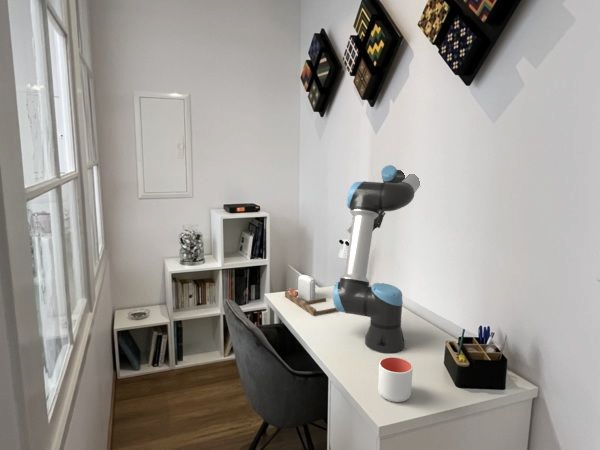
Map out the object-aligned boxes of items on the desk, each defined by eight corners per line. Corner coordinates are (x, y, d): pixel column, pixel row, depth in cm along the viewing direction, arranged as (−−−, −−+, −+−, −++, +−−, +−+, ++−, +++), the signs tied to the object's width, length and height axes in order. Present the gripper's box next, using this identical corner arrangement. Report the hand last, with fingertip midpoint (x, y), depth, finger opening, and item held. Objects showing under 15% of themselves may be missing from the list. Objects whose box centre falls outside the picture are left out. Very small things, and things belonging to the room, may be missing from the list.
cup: (395, 407, 126) (397, 376, 125) (371, 392, 134) (372, 362, 133) (417, 397, 132) (419, 366, 130) (392, 382, 140) (394, 354, 138)
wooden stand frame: (341, 310, 202) (341, 298, 201) (313, 316, 195) (313, 303, 194) (310, 292, 228) (310, 281, 227) (285, 296, 221) (285, 285, 220)
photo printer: (296, 297, 220) (297, 274, 218) (303, 295, 223) (303, 272, 221) (309, 302, 213) (310, 278, 210) (316, 301, 215) (316, 277, 213)
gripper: (402, 210, 208) (376, 243, 204) (370, 204, 230) (346, 234, 225) (394, 200, 205) (367, 233, 200) (362, 195, 226) (338, 225, 222)
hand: (356, 234), depth 213 cm, fingers open, 13 cm apart
